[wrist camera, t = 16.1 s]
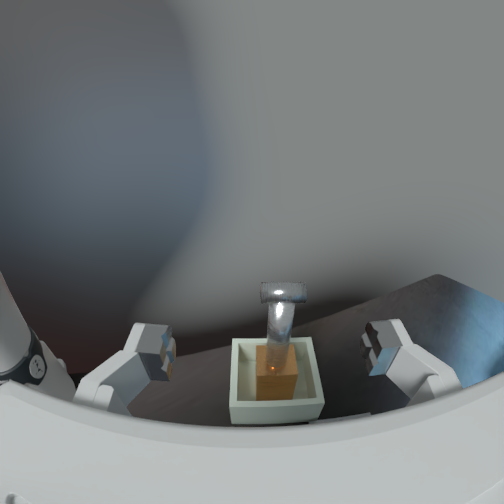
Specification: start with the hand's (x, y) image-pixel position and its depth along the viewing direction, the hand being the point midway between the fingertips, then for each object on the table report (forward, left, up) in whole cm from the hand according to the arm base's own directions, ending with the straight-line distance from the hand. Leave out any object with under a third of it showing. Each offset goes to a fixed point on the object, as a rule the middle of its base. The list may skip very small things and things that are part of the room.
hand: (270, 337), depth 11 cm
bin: (+3, +17, -32) cm, 36 cm away
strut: (+3, +17, -31) cm, 35 cm away
